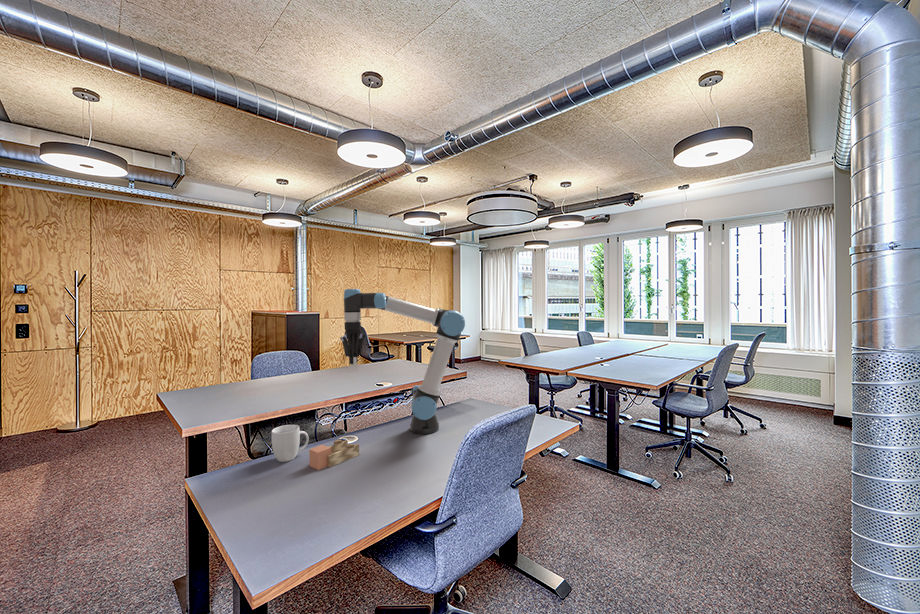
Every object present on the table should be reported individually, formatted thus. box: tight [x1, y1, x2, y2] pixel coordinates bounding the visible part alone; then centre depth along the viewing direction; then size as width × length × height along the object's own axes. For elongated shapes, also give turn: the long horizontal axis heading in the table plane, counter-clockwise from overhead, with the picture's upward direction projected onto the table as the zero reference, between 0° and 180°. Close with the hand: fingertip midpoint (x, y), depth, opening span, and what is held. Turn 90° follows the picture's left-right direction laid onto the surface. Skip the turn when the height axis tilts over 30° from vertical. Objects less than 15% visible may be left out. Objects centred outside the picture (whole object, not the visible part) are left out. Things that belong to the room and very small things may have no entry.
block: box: [308, 444, 331, 471], centre depth 154 cm, size 6×6×7 cm
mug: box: [271, 424, 310, 463], centre depth 162 cm, size 15×11×13 cm
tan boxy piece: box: [327, 438, 360, 468], centre depth 161 cm, size 15×10×6 cm
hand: (353, 370), depth 178 cm, fingers closed
